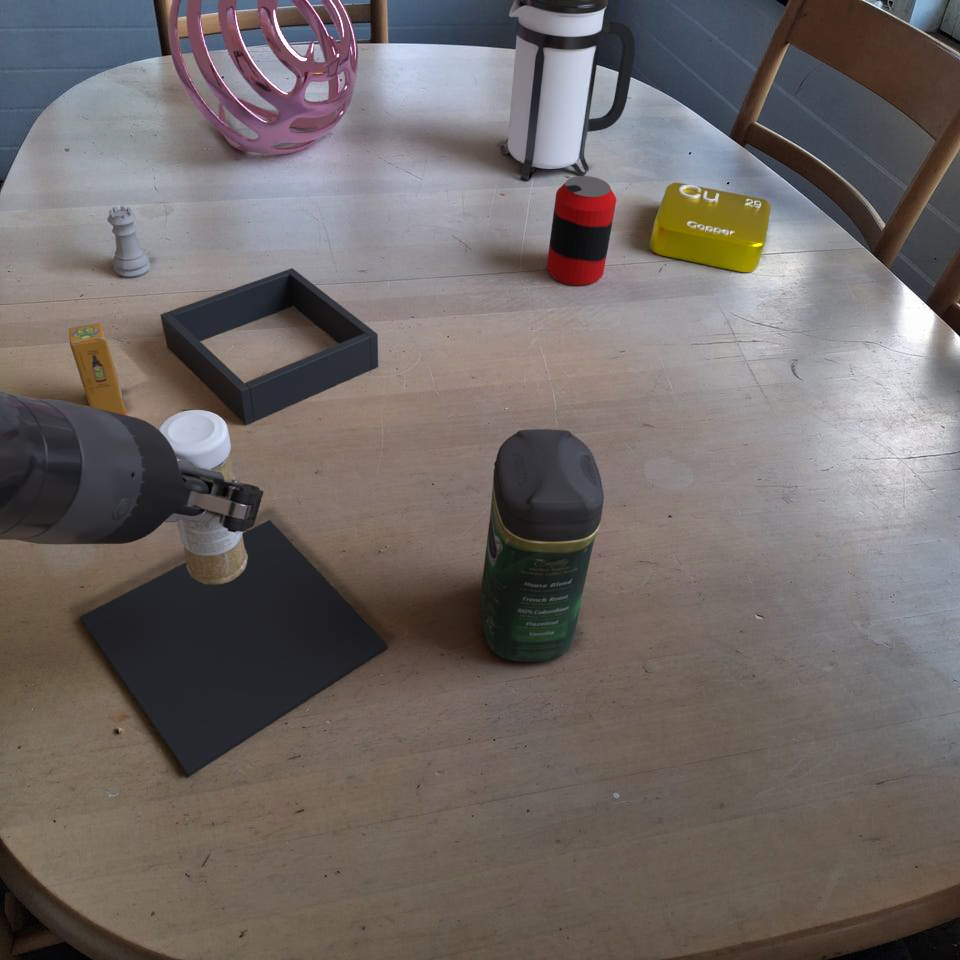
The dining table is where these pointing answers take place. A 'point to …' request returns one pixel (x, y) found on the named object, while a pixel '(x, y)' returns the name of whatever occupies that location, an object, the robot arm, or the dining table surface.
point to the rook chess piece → (127, 245)
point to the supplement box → (96, 368)
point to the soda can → (581, 230)
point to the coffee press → (560, 81)
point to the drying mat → (231, 647)
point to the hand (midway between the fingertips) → (220, 491)
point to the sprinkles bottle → (210, 543)
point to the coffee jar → (539, 543)
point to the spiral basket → (288, 104)
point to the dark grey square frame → (286, 382)
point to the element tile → (711, 227)
